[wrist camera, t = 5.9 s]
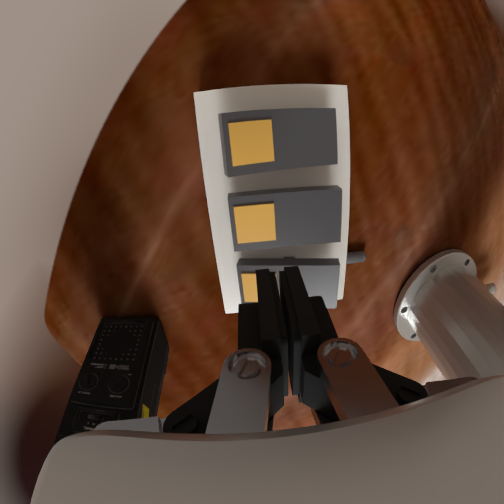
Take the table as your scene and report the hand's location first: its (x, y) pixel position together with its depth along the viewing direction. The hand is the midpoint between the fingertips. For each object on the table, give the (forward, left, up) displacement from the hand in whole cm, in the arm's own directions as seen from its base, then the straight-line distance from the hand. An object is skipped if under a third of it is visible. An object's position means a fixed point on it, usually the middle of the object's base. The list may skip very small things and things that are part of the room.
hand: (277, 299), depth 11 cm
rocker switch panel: (-3, 0, -12) cm, 13 cm away
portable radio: (+13, +13, -13) cm, 22 cm away
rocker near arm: (-2, +5, -9) cm, 10 cm away
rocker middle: (-2, 0, -9) cm, 9 cm away
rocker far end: (-1, -5, -9) cm, 11 cm away
